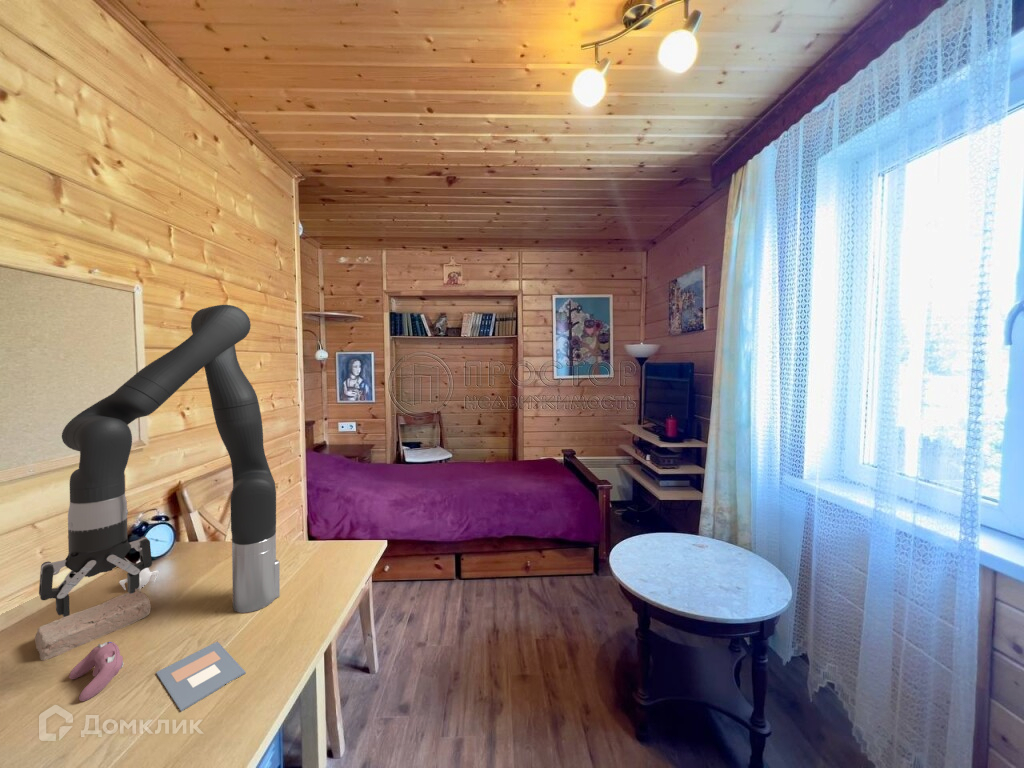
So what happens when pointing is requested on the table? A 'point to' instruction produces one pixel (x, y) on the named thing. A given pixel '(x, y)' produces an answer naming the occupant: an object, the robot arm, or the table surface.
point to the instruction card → (199, 675)
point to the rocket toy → (142, 577)
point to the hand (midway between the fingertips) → (99, 602)
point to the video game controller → (98, 668)
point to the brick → (90, 624)
